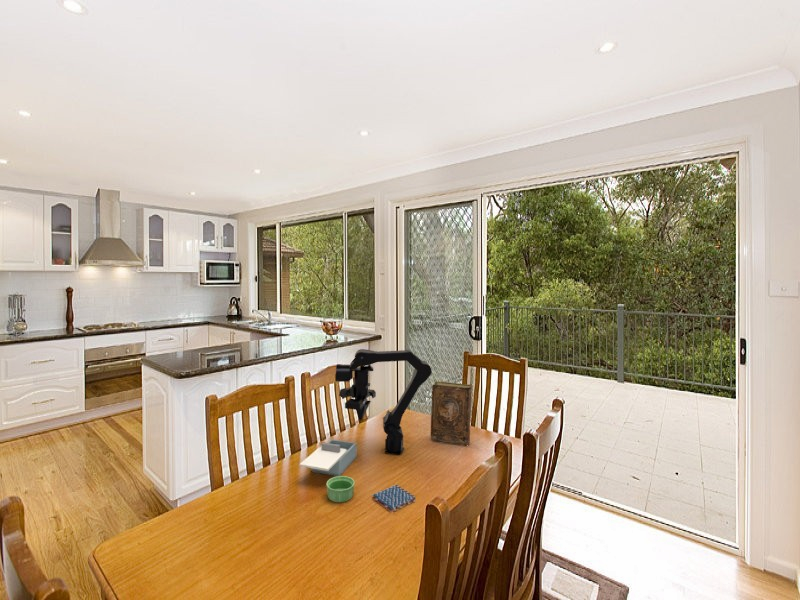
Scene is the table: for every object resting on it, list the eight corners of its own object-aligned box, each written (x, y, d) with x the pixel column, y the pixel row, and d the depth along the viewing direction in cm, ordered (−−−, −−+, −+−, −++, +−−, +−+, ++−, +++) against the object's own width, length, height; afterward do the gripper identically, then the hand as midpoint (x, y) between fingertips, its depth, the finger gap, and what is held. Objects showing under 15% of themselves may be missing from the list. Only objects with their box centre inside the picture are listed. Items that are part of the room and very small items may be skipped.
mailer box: (330, 452, 160) (331, 439, 159) (356, 456, 157) (356, 443, 156) (311, 471, 144) (311, 456, 144) (339, 476, 141) (339, 461, 141)
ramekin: (320, 498, 127) (320, 485, 127) (337, 485, 135) (337, 473, 135) (343, 507, 123) (343, 493, 123) (359, 493, 131) (360, 480, 131)
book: (470, 441, 174) (472, 384, 172) (468, 446, 168) (470, 388, 167) (433, 436, 178) (434, 381, 177) (430, 441, 173) (432, 384, 172)
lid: (321, 447, 151) (321, 439, 151) (347, 451, 148) (347, 443, 148) (299, 466, 136) (299, 457, 136) (328, 471, 133) (328, 462, 133)
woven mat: (370, 500, 128) (370, 493, 128) (395, 489, 135) (395, 483, 135) (391, 515, 120) (391, 508, 120) (417, 503, 127) (417, 496, 127)
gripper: (351, 374, 171) (351, 410, 172) (332, 385, 153) (332, 425, 154) (376, 376, 168) (375, 413, 169) (359, 388, 150) (359, 429, 151)
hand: (360, 419), depth 161 cm, fingers closed
